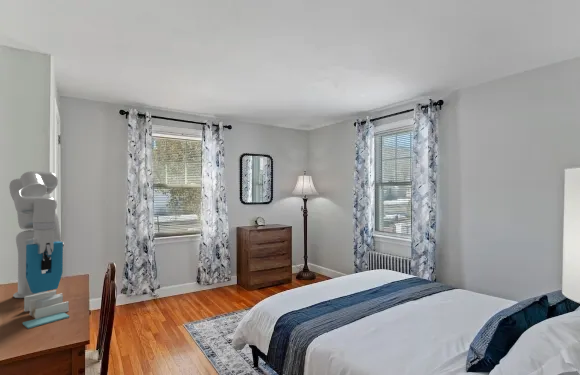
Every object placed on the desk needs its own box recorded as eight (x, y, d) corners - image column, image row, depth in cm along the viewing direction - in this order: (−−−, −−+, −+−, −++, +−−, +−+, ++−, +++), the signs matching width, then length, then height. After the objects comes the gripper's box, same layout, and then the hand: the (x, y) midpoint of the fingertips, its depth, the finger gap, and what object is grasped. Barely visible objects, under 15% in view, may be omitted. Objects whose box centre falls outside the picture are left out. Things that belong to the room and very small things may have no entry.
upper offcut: (35, 308, 126) (35, 300, 126) (56, 301, 133) (56, 294, 133) (42, 309, 124) (42, 302, 124) (62, 302, 132) (62, 295, 132)
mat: (22, 323, 118) (22, 322, 118) (62, 313, 129) (62, 311, 129) (28, 328, 114) (28, 327, 114) (69, 317, 124) (69, 315, 124)
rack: (24, 311, 131) (24, 296, 131) (55, 303, 140) (55, 290, 140) (35, 319, 122) (35, 304, 122) (68, 311, 131) (68, 297, 131)
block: (28, 294, 128) (29, 246, 128) (25, 292, 131) (25, 244, 131) (63, 287, 137) (63, 242, 138) (59, 285, 140) (59, 241, 141)
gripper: (27, 225, 136) (26, 266, 136) (40, 228, 126) (39, 273, 126) (48, 223, 142) (47, 263, 142) (61, 227, 132) (61, 270, 132)
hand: (43, 267), depth 134 cm, fingers closed on block, 5 cm apart
